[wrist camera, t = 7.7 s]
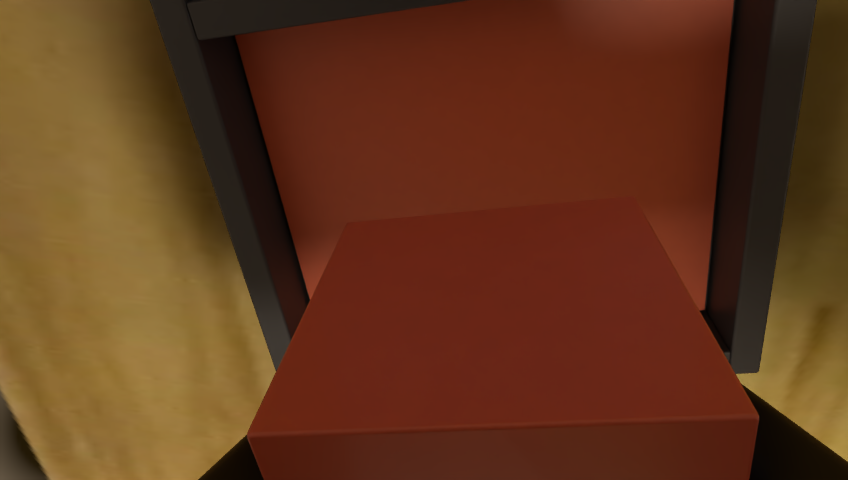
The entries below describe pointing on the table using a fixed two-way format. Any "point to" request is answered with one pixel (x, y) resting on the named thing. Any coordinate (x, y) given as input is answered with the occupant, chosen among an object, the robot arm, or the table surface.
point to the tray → (497, 128)
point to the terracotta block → (504, 357)
